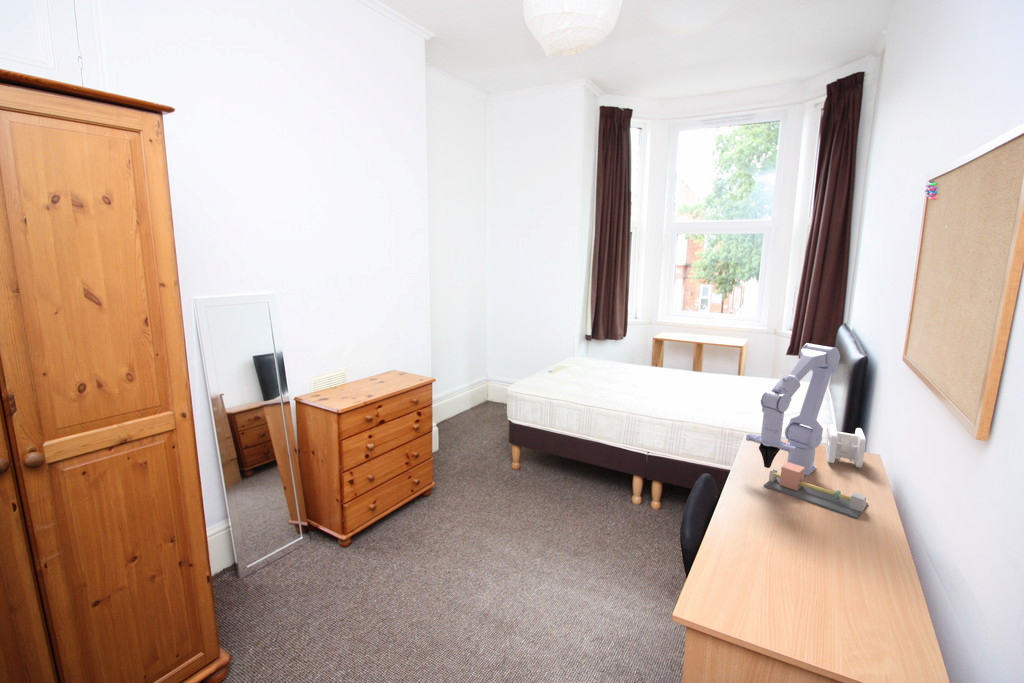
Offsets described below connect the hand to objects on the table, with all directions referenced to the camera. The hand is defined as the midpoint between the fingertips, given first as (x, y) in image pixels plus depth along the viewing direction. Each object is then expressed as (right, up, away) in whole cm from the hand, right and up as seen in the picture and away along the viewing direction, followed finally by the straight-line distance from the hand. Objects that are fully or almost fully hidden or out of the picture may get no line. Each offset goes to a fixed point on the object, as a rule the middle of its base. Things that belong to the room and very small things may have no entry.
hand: (767, 466), depth 154 cm
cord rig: (+9, -6, -9) cm, 14 cm away
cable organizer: (+36, -2, +16) cm, 39 cm away
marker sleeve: (+5, -5, -5) cm, 9 cm away
